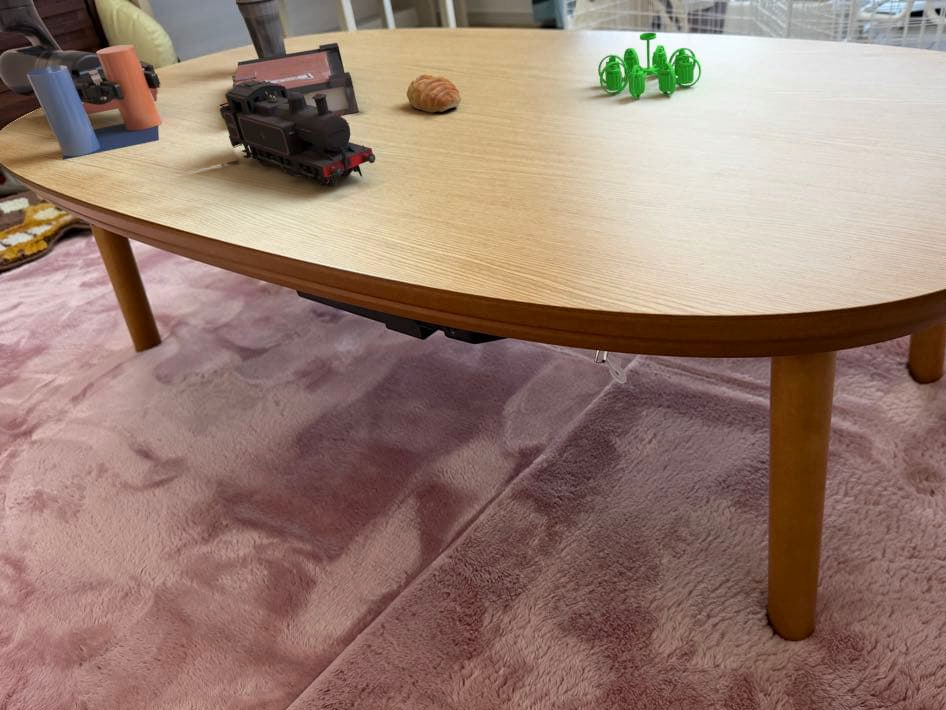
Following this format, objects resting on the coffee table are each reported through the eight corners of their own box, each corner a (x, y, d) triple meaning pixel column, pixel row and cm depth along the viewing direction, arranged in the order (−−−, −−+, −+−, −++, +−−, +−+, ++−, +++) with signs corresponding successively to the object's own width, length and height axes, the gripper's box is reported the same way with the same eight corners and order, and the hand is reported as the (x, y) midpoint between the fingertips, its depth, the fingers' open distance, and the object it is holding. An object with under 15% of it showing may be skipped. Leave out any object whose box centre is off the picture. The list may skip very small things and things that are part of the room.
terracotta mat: (82, 119, 132) (80, 115, 132) (86, 102, 141) (84, 99, 141) (158, 104, 135) (156, 100, 135) (157, 89, 144) (156, 85, 144)
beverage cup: (249, 71, 149) (212, -52, 137) (284, 61, 152) (252, -59, 141) (266, 76, 144) (230, -51, 132) (302, 66, 148) (270, -58, 136)
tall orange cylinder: (126, 133, 120) (95, 55, 114) (126, 124, 124) (96, 49, 118) (162, 126, 121) (133, 48, 115) (161, 117, 125) (134, 42, 119)
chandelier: (669, 66, 123) (669, 17, 119) (722, 87, 111) (724, 33, 107) (579, 85, 119) (576, 35, 115) (625, 109, 108) (623, 54, 104)
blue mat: (64, 164, 113) (62, 159, 112) (70, 137, 123) (69, 134, 123) (160, 144, 116) (158, 139, 116) (159, 120, 127) (157, 116, 126)
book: (242, 90, 137) (232, 59, 134) (344, 73, 140) (337, 42, 137) (239, 133, 116) (227, 98, 113) (358, 111, 119) (351, 76, 116)
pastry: (474, 106, 116) (469, 79, 113) (432, 118, 113) (427, 91, 111) (443, 95, 122) (438, 68, 120) (403, 106, 120) (398, 79, 117)
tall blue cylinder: (62, 159, 112) (24, 77, 106) (64, 150, 116) (28, 70, 110) (99, 152, 114) (65, 70, 107) (101, 142, 117) (68, 63, 111)
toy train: (333, 199, 91) (309, 109, 85) (230, 161, 106) (204, 82, 100) (387, 177, 95) (369, 90, 89) (281, 143, 110) (258, 67, 104)
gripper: (25, 63, 120) (80, 72, 111) (114, 40, 129) (172, 46, 120) (48, 114, 125) (102, 126, 116) (133, 88, 134) (189, 98, 124)
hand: (137, 86), depth 118 cm, fingers closed on tall orange cylinder, 5 cm apart
